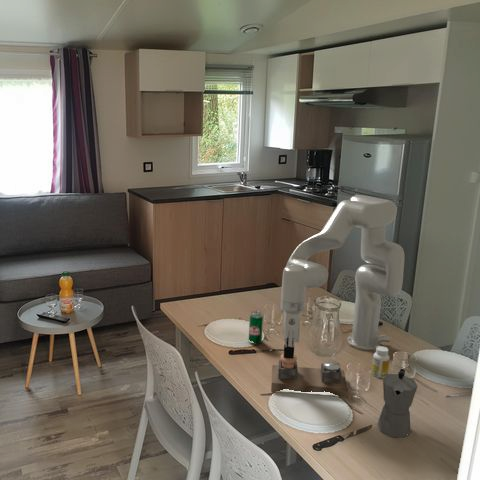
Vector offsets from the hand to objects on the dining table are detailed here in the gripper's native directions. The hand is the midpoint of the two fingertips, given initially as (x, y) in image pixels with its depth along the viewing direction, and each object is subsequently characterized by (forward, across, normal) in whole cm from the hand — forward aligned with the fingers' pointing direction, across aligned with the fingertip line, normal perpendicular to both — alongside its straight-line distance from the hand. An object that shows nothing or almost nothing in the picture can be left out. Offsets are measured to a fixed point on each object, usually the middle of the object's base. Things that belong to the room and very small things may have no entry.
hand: (288, 357), depth 174 cm
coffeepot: (+10, -20, -31) cm, 38 cm away
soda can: (+10, +29, +12) cm, 33 cm away
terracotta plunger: (+5, 0, 0) cm, 5 cm away
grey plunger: (+6, 0, -14) cm, 15 cm away
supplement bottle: (+10, +11, -32) cm, 35 cm away
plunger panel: (+9, 0, -7) cm, 12 cm away
